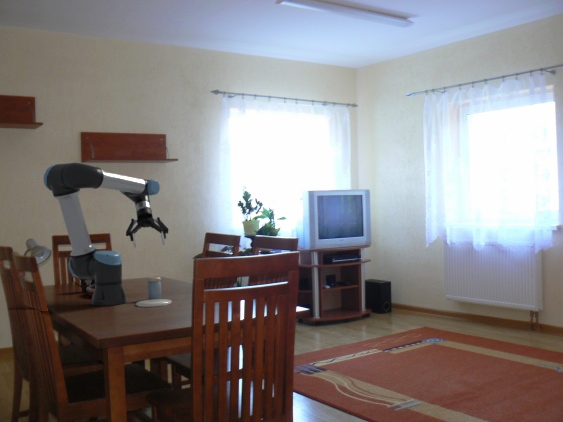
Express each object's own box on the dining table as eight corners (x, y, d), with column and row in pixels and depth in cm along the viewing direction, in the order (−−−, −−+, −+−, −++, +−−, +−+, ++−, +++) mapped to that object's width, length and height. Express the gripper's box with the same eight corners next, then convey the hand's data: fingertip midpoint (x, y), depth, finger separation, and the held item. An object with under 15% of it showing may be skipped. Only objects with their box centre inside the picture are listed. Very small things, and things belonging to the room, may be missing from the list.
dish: (118, 290, 319) (117, 280, 319) (119, 298, 290) (119, 287, 289) (87, 292, 315) (86, 282, 315) (85, 300, 285) (85, 290, 285)
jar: (150, 300, 275) (149, 278, 275) (145, 299, 281) (145, 277, 281) (163, 299, 278) (163, 277, 278) (159, 297, 284) (158, 276, 284)
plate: (142, 308, 255) (142, 305, 255) (132, 304, 268) (132, 301, 268) (176, 304, 262) (176, 302, 262) (164, 300, 275) (164, 298, 275)
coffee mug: (99, 290, 320) (99, 271, 320) (93, 292, 312) (92, 273, 311) (78, 290, 321) (78, 271, 321) (71, 293, 313) (70, 273, 313)
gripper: (168, 216, 309) (175, 247, 295) (118, 219, 301) (122, 251, 287) (169, 205, 304) (176, 237, 290) (118, 208, 296) (122, 240, 282)
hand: (149, 244), depth 289 cm, fingers open, 13 cm apart
